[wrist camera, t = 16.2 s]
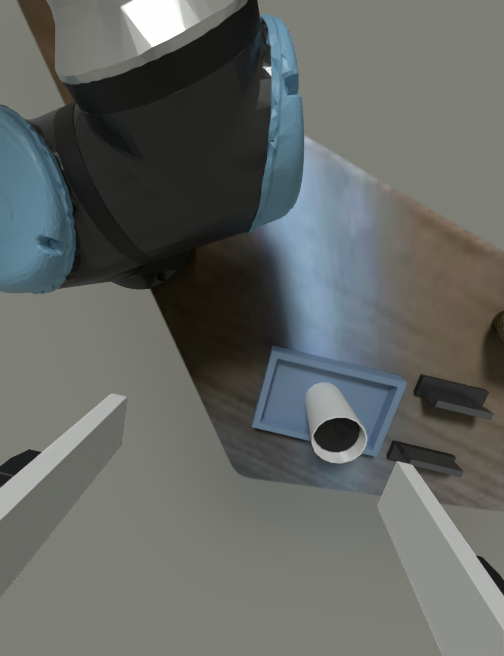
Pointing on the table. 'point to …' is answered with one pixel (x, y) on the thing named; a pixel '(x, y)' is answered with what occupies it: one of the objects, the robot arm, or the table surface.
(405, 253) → the table surface
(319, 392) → the white tumbler
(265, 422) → the tray
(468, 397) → the bracket
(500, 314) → the cup
